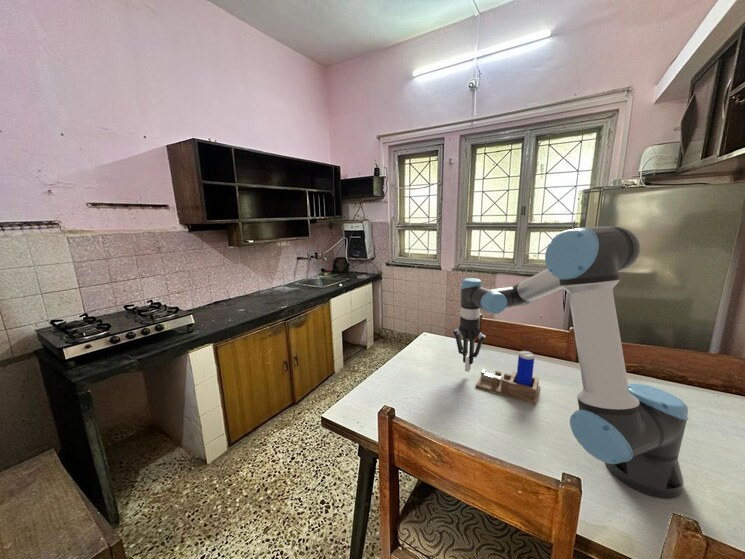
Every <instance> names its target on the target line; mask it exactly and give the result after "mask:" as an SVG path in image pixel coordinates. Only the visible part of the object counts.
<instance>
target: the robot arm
mask: <svg viewBox="0 0 745 559" xmlns="http://www.w3.org/2000/svg"><path fill="white" fill-rule="evenodd" d="M640 254H641V242H640V240H639V238H638V237H637V235H636V234H634V232H632V231H631V230H629V229H627V228H624V227H621V226H616V225H611V226H610V225H607V226H594V227H593V226H592V227H576V228H573V229H572V228H571V229H567V230H563V231H561V232H560V233H558V234H557V235H555V236H554V237H553V238H552V239H551V241H550V242H549V243H548V245H547V247H546V250H545V256H544V260H545V265H546V268H547V269H544V270H542V271H541V272H537V274H534V275H533V276H530V277H528V278H526V279H525V280H522V281H520V282H519V283H517V284H514V285H511V286H507V287H497V288H490V289H489V288H485V287H483V284H482V280H481V279H480V278H475V277H474V278H473V277H467V278H466V277H465V278H463V279H462V281H461V284H460V285H461V286H460V310H459V315H460V317H459V327H458V328H455V329H454V330H453V331H452V334H453V335H454V337H455V341H456V345H457V349H458V350H457V351H458V353H459V354H461V355H462V361H463V362H462V363H464V371H465V372H467V373H469V372H470V370H471V369H472V368H471V365H473V363H474V358H477V357H478V356H479V354H480V350H481V348H482V345H483V342H484V340H485V339H486V337H487V335H486V334H483V333H482V332H481V329H480V322H481V318H480V317H481V309H482V310H484V311H485V312H488V313H492V314H496V315H498V314H501V313H502V312H504V311H505V310H506V309H508V308H513V307H520V306H521V307H522V306H523V307H524V306H526V305H530V304H532V303H533V302H534V300H537V299H540V298H542V297H544V296H545V297H546V296H547V295H549V294H552V293H554V292H557V291H560V290H562V289H563V290H565V291H566V292H567V293H568V298H569V304H570V310H571V317H572V322H573V323H572V324H573V330H574V337H575V344H576V350H577V357H578V362H579V369H580V375H581V382H582V387H583V388H582V390H580V391H579V392H578V393H577V394H576V395H577V396H576V397H577V403H578V409H577V410H575V411H574V412H573V413H572V414H571V415H570V418H569V424H570V425H569V426H570V430H571V432H572V434H573V436H574V438H575V439H576V441H577V442H578V443H579V444H580V446H581V447H583V449H584V450H585V451H586V452H587V453H588V454H589V455H590V456H592V457H593V458H595V459H596V460H598V461H600V462H602V463H604V464H605V466H606V467H607V469H608V470H609V471H610V472H611V473H612V474H613V476H615V477H616V478H617V479H618V480H619V481H621V482H622V483H624V484H626V485H627V486H629V487H631V488H632V489H634V490H636V491H638V492H640V493H643V494H645V495H648V496H651V497H654V498H659V499H674V498H677V497H679V496H680V495H682V492H683V488H684V478H683V474H682V470H681V466H680V462H679V455H680V451H681V446H682V443H683V439H684V434H685V431H686V430H685V428H686V425H687V422H688V420H689V418H688V414H689V408H688V405H687V404H686V403H685V402H684V401H683V400H682V399H681V398H680V397H677V396H676V395H674V394H672V393H670V392H667V391H665V390H663V389H661V388H657V387H654V386H651V385H648V384H643V383H636V382H630V383H628V377H627V370H626V366H625V365H626V364H625V359H624V358H625V357H624V352H623V346H622V340H621V334H620V333H621V332H620V328H619V327H620V326H619V321H618V316H617V309H616V303H615V298H614V297H615V296H614V290H613V289H614V288H615V286H617V284H618V283H619V282H620V275H619V272H621V271H624V270H627V269H628V268H630V267H631V266H633V264H635V262H636V261H637V259H638V258H639V256H640ZM461 336H462V337H461ZM476 338H478V339H479V340H478V342H477V345H476V348H475V340H476ZM468 350H469V351H468Z"/></svg>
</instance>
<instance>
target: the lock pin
mask: <svg viewBox="0 0 745 559" xmlns="http://www.w3.org/2000/svg"><path fill="white" fill-rule="evenodd" d="M490 373H491V372H488V373H487V369H484V368H482V370H481V372H480V377H481V380H484V381H488V382H491V383H492V377H493V376H495V377H498V384H500V382H501V376H502V375H501V376H498V375H494V374H495V373H492V374H490Z"/></svg>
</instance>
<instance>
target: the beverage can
mask: <svg viewBox="0 0 745 559" xmlns="http://www.w3.org/2000/svg"><path fill="white" fill-rule="evenodd" d="M517 358H518V359H517V369H516V373H517V379H516V383H518V384H522V385H526V386H529V387H531V386H532V377H534V376H533V373H534V367H535V366H534V364H535V355H534V353H533V352H531V351H529V350H521V351H519V353H518V357H517Z"/></svg>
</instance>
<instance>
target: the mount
mask: <svg viewBox="0 0 745 559" xmlns="http://www.w3.org/2000/svg"><path fill="white" fill-rule="evenodd" d="M486 372H487V371H486ZM487 373H490V374H494V375H498V376H501V382H500V384H498V377H495V376H493V377H492V383H491V382H488V381H484V380H481V376H480V377H479V379H478V380H477V382H476V384H475V388H477V389H479V390H480V389H481V390H483V391H488V392H490V393H493V394H496V395H501V396H504V397H507V398H510V399H514V400H517V401H521V402H524V403H526V404H530V405H534V406H536V405H537V402H538V397H539V393H540V390H541V386H540V385H539V384H540V378H539V377H537V376H532V386H531V387H529V386H526V385H522V384H518V383H516V379H517V371H513V372H512V373H511V374H510V373H506V372H504V373H503V375H502V371H499V370H495V372H494V373H492V372H487Z"/></svg>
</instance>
